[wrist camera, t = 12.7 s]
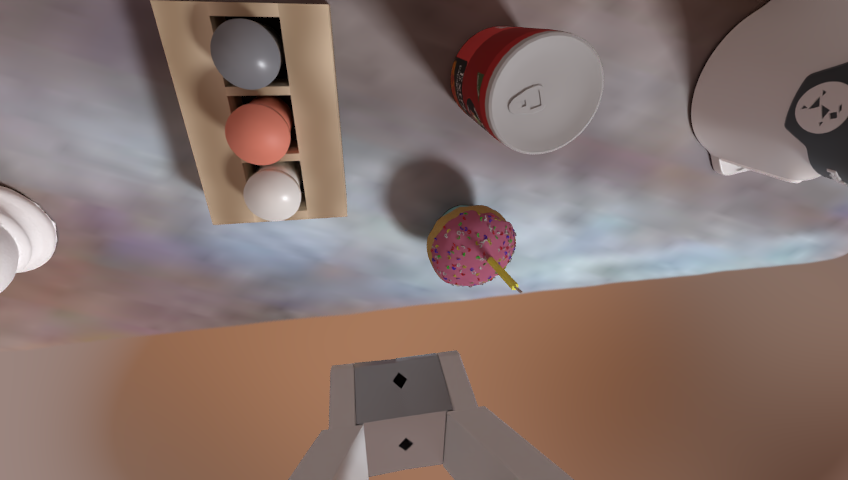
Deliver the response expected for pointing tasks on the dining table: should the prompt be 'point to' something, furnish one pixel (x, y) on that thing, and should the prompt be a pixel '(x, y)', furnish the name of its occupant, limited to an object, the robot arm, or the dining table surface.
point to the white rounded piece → (274, 190)
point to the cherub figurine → (23, 235)
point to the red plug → (260, 130)
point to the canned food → (528, 86)
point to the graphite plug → (247, 53)
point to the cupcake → (472, 246)
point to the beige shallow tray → (217, 98)
